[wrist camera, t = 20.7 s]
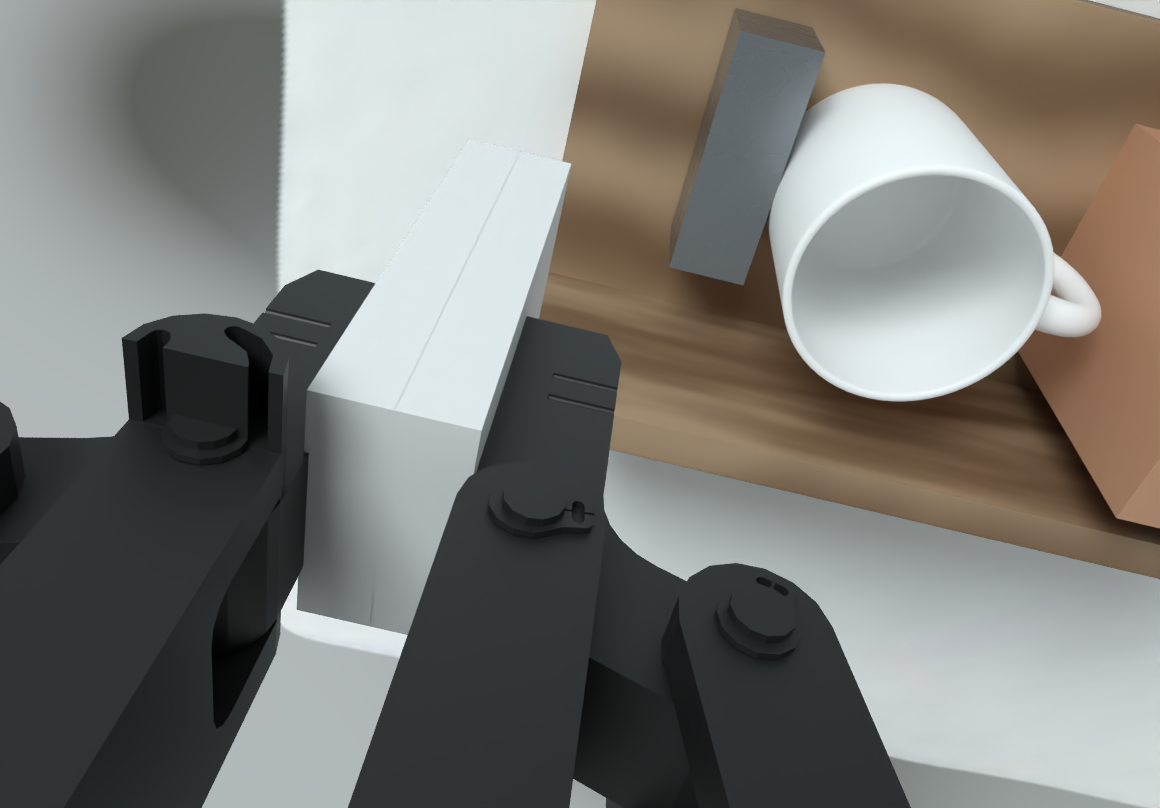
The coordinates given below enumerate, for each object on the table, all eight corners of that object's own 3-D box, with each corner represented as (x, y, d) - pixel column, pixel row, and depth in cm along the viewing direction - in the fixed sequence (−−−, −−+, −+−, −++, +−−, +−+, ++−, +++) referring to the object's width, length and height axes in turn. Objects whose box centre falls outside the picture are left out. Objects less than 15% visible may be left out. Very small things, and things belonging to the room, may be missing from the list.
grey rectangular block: (735, 7, 35) (740, 30, 31) (812, 27, 35) (825, 52, 31) (670, 227, 40) (669, 267, 36) (738, 244, 40) (743, 285, 36)
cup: (811, 49, 35) (850, 129, 27) (1100, 144, 36) (1224, 252, 28) (732, 241, 40) (743, 362, 31) (990, 322, 41) (1068, 460, 32)
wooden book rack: (624, -120, 34) (598, -87, 25) (1339, 65, 35) (1581, 167, 26) (537, 284, 44) (495, 422, 34) (1104, 421, 45) (1217, 592, 35)
